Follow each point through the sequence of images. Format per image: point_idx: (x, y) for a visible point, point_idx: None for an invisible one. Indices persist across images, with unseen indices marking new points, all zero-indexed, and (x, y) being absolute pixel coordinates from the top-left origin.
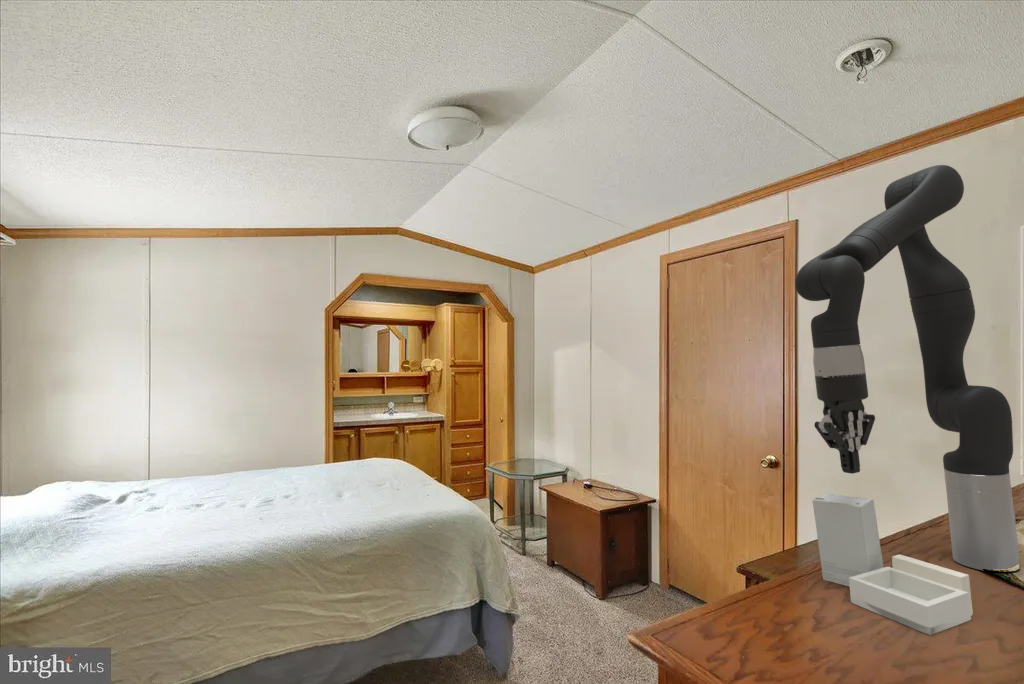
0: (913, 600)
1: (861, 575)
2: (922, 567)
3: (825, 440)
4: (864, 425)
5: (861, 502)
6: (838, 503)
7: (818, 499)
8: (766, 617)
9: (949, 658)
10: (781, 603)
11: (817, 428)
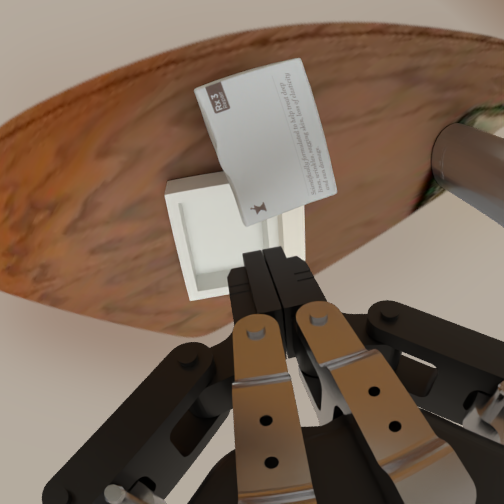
0: (189, 284)
1: (193, 194)
2: (282, 240)
3: (132, 399)
4: (452, 411)
5: (279, 204)
6: (224, 170)
7: (207, 103)
8: (27, 187)
9: (167, 312)
10: (67, 152)
11: (60, 481)
